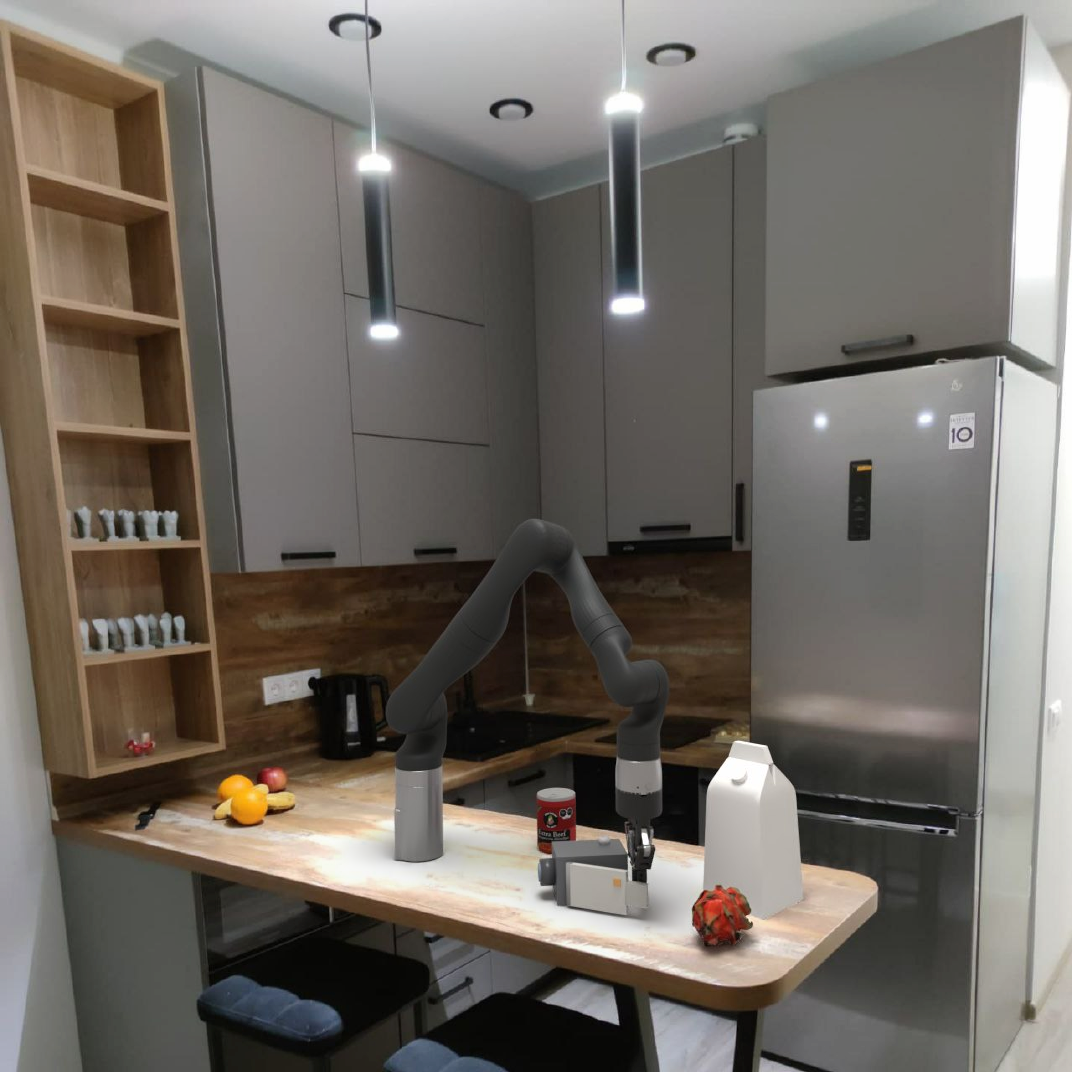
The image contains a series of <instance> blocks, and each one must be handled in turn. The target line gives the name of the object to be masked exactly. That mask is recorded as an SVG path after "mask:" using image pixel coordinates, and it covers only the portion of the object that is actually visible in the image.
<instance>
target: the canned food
mask: <svg viewBox="0 0 1072 1072" xmlns="http://www.w3.org/2000/svg"><path fill="white" fill-rule="evenodd" d="M576 804H577V802H576V792H575V791H574V790H573V789H570V788H565V787H549V788H544V789H541V790H539V791H537V793H536V835H537V836H536V837H537V838H536V841H537V842H536V843H537V849H538V850H539V851H540V852H541V853H542V854H545V853H546V855H551V854H552V842H554V841H577V809H576V807H577V805H576Z"/></svg>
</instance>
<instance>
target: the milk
mask: <svg viewBox="0 0 1072 1072" xmlns="http://www.w3.org/2000/svg"><path fill="white" fill-rule="evenodd" d="M706 791H707V792H706V806H705V810H706V811H705V833H704V858H703V862H704V863H703V883H702V884H703V886H702V891H704V890H708V891H714V890H715V886H716V885H721V886H722V887H723V888H724V889H725V890H726V889H727V888H729V887H735V888H737V889H738V890H739V891H740V893H741V894H743V895H744V896H745V897H746V899H747V901H748V903H749V907H750V908H751V913H750V914H749V915H748V916H752V917H754V918H757V919H760V920H766V919H768V918H770V917H772V916H774V915H776V914H778V913H780V912H782V911H784V910H786V909H785V908H787V909H788V907H789V908H791V907H792V905H793V904H795V903H796V902H799V901H801V900H803V899H804V889H803V875H802V861H801V846H800V834H799V821H798V820H799V819H798V807H797V804H798V803H797V795H796V789H795V787H794V785H793V784H792V783H791V781H790V780H789V778H787V777H786V775H785V774H784V773H783V772H782V771H781V770H780V769H779V768H778V766H776V765H775V764H774V761H773V758H772V755H771V752H770V750H769V747H768V745H766V744H765V745H764V744H758V743H753V742H749V741H743V740H735V741H733V742H732V745H731V748H730V752H729V754H728V757H727V758H726V759H725V761H724V762H723V763H722V765H721V766H720V768H719V769H718V771H717V772H716V774H715V775H714V776H713V777H712V779H711V781H710V783H709V784H708V787H707V790H706ZM803 901H804V900H803ZM801 902H802V901H801ZM799 903H800V902H799ZM795 905H796V904H795ZM790 906H791V907H790ZM793 906H794V905H793ZM783 909H784V910H783ZM775 913H776V914H775Z"/></svg>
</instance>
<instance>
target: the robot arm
mask: <svg viewBox="0 0 1072 1072" xmlns="http://www.w3.org/2000/svg"><path fill="white" fill-rule="evenodd" d="M582 555H583V554H582V553H581V551H580V549H579V546H578V544H577V542H576V540H575V538H574V537H573V535H572V533H571V532H570V531H569V530H568V529H566V527H564V526H561V525H559V524H556V523H554V522H550V521H547V520H544V519H539V518H529V519H527V520H525V521H523V522H522V523H520V524H519V525H518V526H517V528H516V529H515V530H514V531H513V532H512V534H511V535H510V536H509V538H508V540H507V542H506V543H505V545H504V546H503V548H502V549H501V552H500V553H499V555H498V557H497V558H496V560H495V561H494V563H493V565H492V566H491V567H490V568H489V571H488V572H487V574H485V576H484V577H483V579H482V580H481V582H480V583H479V584H478V586H477V587H476V589H475V590H474V592H473V593H472V594H471V596H470V597H469V599H467V601H466V602H465V603H464V604H463V605H462V607H461V608H460V610H458V612H457V613H456V614H455V616H454V617H453V618H452V620H451V621H450V622H449V624H448V625H447V626H446V628H445V629H444V631H443V633H442V634H441V635H440V636H439V638H438V639H437V640H436V641H435V643H434V644H433V645H432V647H431V648H430V650H429V651H428V652H427V654H426V655H425V656H424V658H423V659H422V660H421V661H420V663H419V664H418V665H417V667H416V668H415V669H414V670H413V671H412V672H411V673H410V674H409V675H408V676H407V677H406V678H405V679H404V680H403V681H402V682H401V683H400V684H399V685H398V686H397V687H396V689H394V690H393V692H392V693H391V694H390V696H389V698H388V699H387V703H386V706H385V718H386V722H387V724H388V726H389V727H390V728H391V729H392V731H394V732H396V733H399V734H402V735H406V737H405V740H404V742H403V743H402V745H401V746H400V747H399V748H398V750H397V751H396V752H395V754H394V792H395V795H394V796H395V797H394V798H395V799H394V800H395V802H394V803H395V805H394V806H395V807H394V811H393V814H394V819H393V820H394V860H400V861H405V862H415V863H416V862H427V861H431V860H435V859H439V858H440V857H441V856H442V855H443V854H444V808H443V807H444V798H443V797H444V796H443V793H444V792H443V787H444V786H443V756H444V755H445V754H444V753H445V752H446V749H447V748H446V746H447V737H448V736H447V733H448V729H447V728H448V706H447V698H446V696H445V694H444V693H445V691H447V689H449V687H450V686H451V685H453V684H454V683H455V682H456V681H458V680H459V679H460V678H462V677H463V676H464V675H466V674H467V673H468V672H470V671H471V670H473V668H474V667H476V666H477V665H478V664H479V663H480V662H481V661H482V660H483V659H484V658H486V656H487V655H488V654H489V653H490V652H491V650H492V649H494V647H495V646H496V644H498V643H497V642H499V640H500V639H501V638H502V636H503V635H504V633H505V631H506V629H507V625H508V623H509V619H510V618H509V617H510V611H511V605H512V601H513V599H514V597H515V596H514V595H515V594H516V593H517V591H518V590H519V589H520V587H521V586H523V585H522V584H523V583H524V582H525V581H526V580H527V579H528V577H530V576H531V574H532V573H533V572H537V573H543V574H548V576H550V577H551V578H552V579H553V580H554V581H555V582H556V583H557V585H559V587H560V588H561V589H562V591H563V593H564V595H565V596H566V598H567V600H568V604H569V608H570V615H571V619H572V621H573V624H574V627H575V628H576V630H577V633H578V634H579V636H580V637H581V639H582V640H583V642H584V643H585V645H586V646H587V648H588V649H589V651H590V652H591V654H592V655H593V656H594V659H595V662H596V666H597V669H598V672H599V674H600V678H601V681H602V684H603V687H604V689H605V692H606V694H607V695H608V697H609V698H610V699H611V700H612V701H613V702H614V703H616V704H617V705H618V706H620V707H623V708H631V709H632V710H631V712H630V714H629V715H628V716H627V717H626V718H624V719H622V720H621V721H620V722H619V723H618V724H617V728H616V764H615V812H616V814H617V815H619V816H620V817H623V818H626V819H627V821H624V823H623V827H624V831H625V832H624V833H625V840H626V848H627V854H628V859H629V863H630V867H631V881H635V882H642V883H648V870H649V871H650V870H652V866H653V862H654V857H655V853H656V846H655V844H653V839H654V827H653V826H651V820H652V819H655V818H657V817H660V816H661V814H662V813H663V770H662V768H663V767H662V762H661V728H662V725H663V721H664V717H665V713H666V708H667V703H668V700H669V694H670V680H669V676H668V673H667V670H666V669H665V667H664V666H663V665H662V664H661V663H660V662H659V661H657V660H654V659H643V660H636V661H629V659H628V658H627V654H629V652H630V651H631V649H632V646H633V640H632V639H633V638H632V636H631V635H630V633H629V632H628V630H627V628H626V627H625V625H624V624H623V622H622V621H621V620H620V618H619V617H618V615H617V614H616V613H615V611H614V610H613V608H612V607H611V605H610V604H609V603H608V601H607V600H606V598H605V597H604V595H603V594H602V592H601V591H600V588H599V587H598V585H597V583H596V581H595V580H594V578H593V576H592V574H591V572H590V568H588V565H587V564H586V562H585V560H584V557H583V556H582Z"/></svg>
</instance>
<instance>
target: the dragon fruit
mask: <svg viewBox="0 0 1072 1072" xmlns="http://www.w3.org/2000/svg"><path fill="white" fill-rule="evenodd" d="M691 913H692V914H691V915H692V918H691V926H692V928H694V929H695V931H696V932H697V934H698V935H699V936H700V937H702V942H703V946H704V947H705V948H706V947H707V946H717V947H718V946H721V945H723V943H724V941H728V943H729V944H730V945H732V946H735V945H736V944H738V943H739V942H740V941H741V940H742V937H743V936H744V935H745V932H743V931H749V930H751V929H752V928H753V927H754V926H753V925H754V923H753V921H750V920H749V918H748V917H747V916H750V915H749V914H750V913H751V908H750V907H749V903H748V901H747V899H746V897H745V896H744V895H743V894H741V893H740V891H739V890H738V889H737V888H735V887H729V888H727V889H726V890H725V889H724V888H723V887H722V886H721V885H716V886H715V890H714V891H708V890H704V891H703V890H702V891H701V893H700V894H699V895H698V897H697V899H696V900H695V902H694V904H692V907H691Z"/></svg>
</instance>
